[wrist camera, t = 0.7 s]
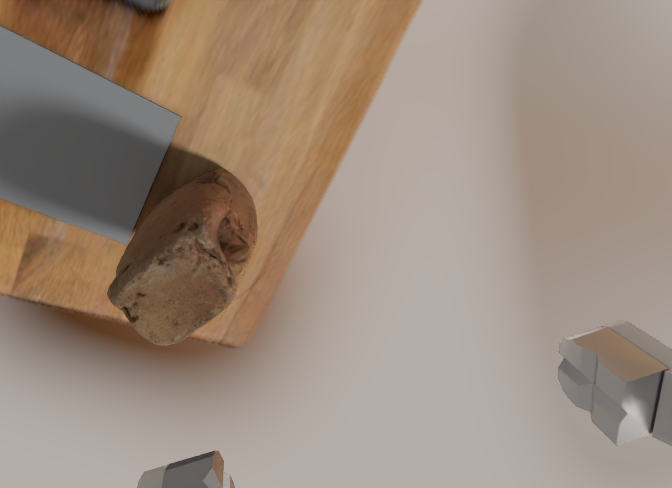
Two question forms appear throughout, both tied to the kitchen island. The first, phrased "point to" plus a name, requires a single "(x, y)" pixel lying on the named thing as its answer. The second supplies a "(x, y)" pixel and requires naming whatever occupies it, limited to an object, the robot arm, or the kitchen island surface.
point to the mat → (76, 140)
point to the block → (186, 258)
